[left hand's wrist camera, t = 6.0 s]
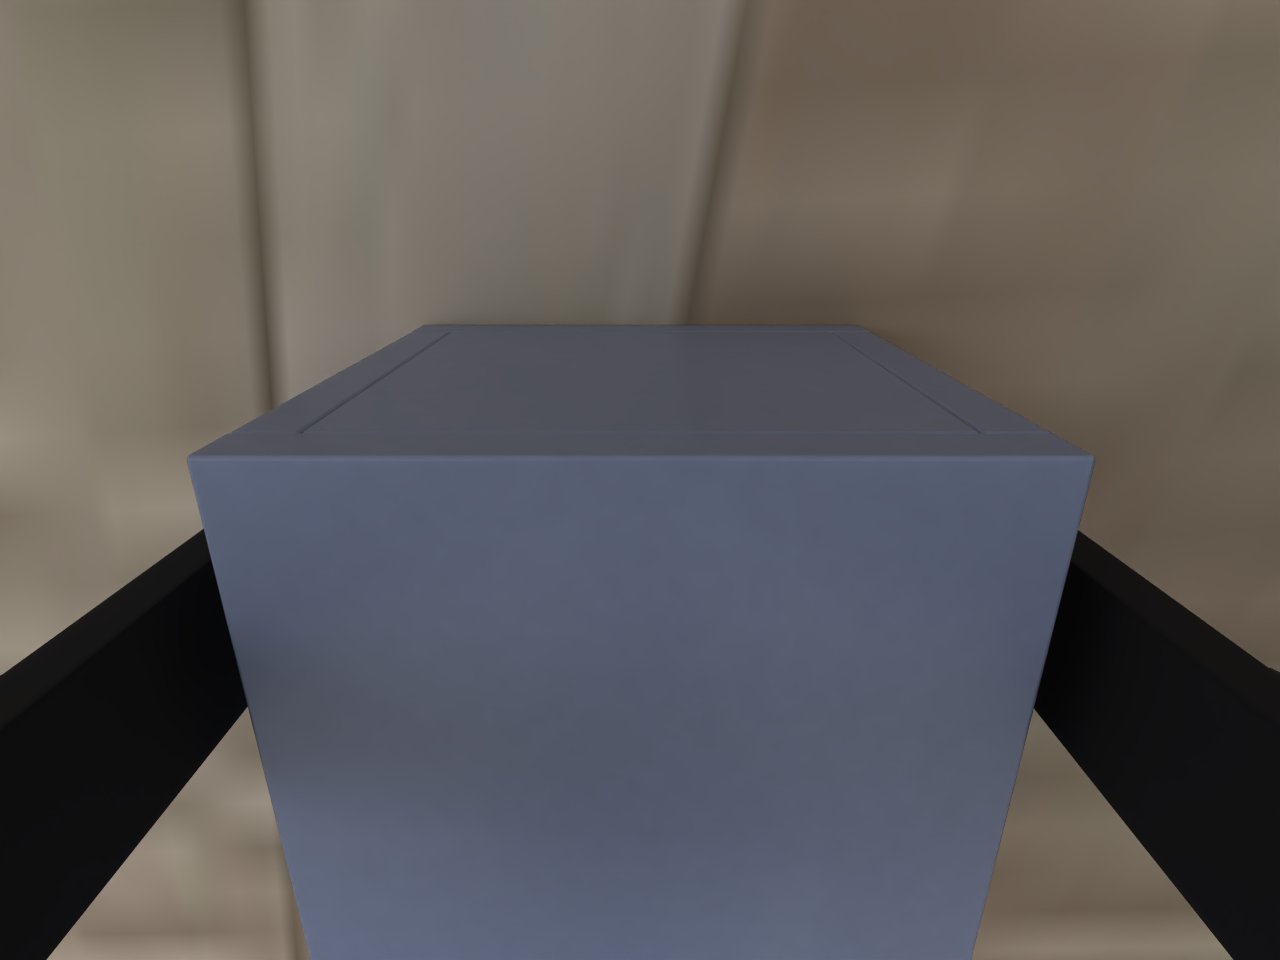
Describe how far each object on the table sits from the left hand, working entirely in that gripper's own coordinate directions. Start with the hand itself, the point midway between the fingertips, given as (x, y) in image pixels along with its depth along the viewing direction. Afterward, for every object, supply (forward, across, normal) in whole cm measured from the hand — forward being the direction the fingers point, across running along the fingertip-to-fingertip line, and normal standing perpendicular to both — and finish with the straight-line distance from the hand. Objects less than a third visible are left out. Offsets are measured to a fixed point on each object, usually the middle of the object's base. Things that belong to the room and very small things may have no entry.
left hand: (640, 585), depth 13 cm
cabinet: (+6, 0, -4) cm, 8 cm away
